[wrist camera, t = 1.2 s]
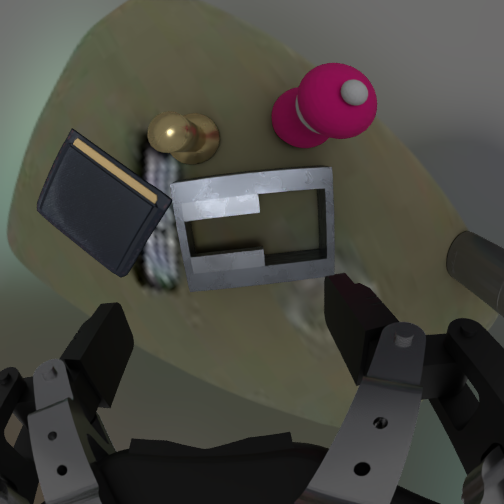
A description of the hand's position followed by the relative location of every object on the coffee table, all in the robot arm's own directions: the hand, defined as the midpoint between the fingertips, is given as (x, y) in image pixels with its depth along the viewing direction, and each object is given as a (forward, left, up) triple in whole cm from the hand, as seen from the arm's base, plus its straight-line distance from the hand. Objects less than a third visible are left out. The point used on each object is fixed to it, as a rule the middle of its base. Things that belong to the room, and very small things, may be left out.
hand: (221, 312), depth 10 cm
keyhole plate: (-2, +4, -27) cm, 27 cm away
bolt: (+4, -8, -27) cm, 29 cm away
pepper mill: (-9, -9, -27) cm, 30 cm away
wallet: (+20, -2, -28) cm, 34 cm away
